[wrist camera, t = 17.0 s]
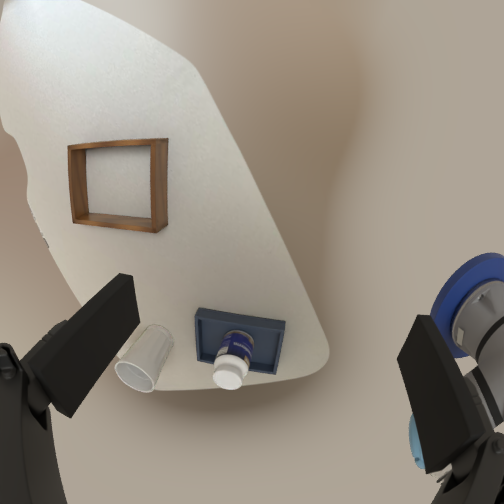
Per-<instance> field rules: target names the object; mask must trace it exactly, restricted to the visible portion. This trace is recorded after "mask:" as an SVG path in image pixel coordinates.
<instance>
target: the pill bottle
mask: <svg viewBox="0 0 504 504" xmlns="http://www.w3.org/2000/svg"><path fill="white" fill-rule="evenodd" d="M253 348H254V341H253V339H252V337H251V336H250V335H249V334H247V333H246V332H243V331H240V330H233V331H230V332H228V333H227V334H226V335H225V336H224V338H223V340H222V343H221V346H220V348H219V351H218V354H217V356H216V359H215V362H214V368H215V371H214V374H213V380H214V382H215V383H216V384H217V385H218V386H220V387H221V388H224V389H229V390H234V389H237V388H239V387H240V386H241V384H242V381H243V378H244V377H245V376H246V375H247V373H248V370H249V365H250V361H251V357H252V353H253Z"/></svg>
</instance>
